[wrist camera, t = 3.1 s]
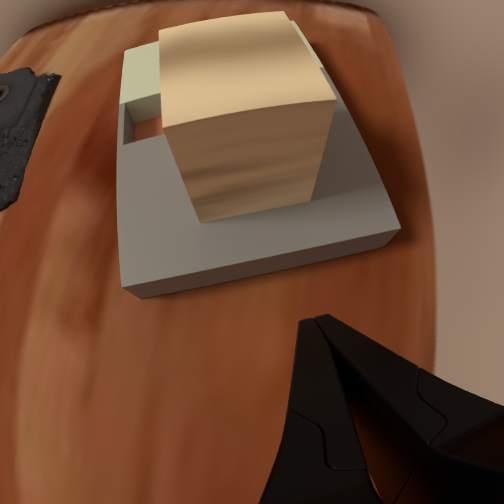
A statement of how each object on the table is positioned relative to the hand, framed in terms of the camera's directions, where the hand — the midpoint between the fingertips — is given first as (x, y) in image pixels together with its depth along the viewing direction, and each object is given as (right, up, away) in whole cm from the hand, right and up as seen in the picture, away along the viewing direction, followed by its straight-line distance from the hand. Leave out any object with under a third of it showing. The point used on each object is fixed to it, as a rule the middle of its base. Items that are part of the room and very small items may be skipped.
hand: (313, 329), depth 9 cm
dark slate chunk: (-33, +15, +20) cm, 42 cm away
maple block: (-2, +8, +13) cm, 15 cm away
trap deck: (-3, +12, +18) cm, 22 cm away
